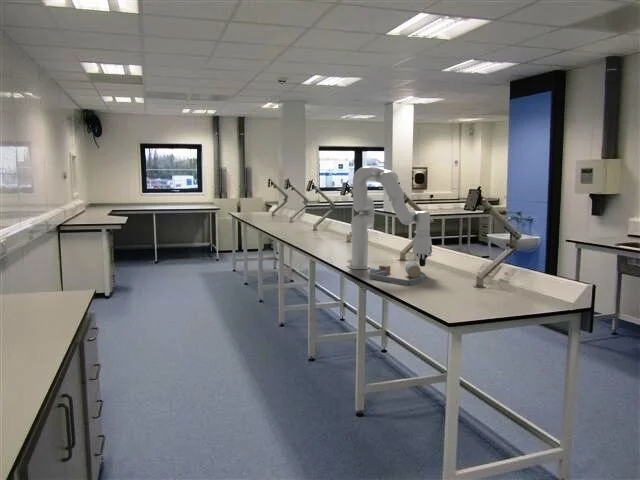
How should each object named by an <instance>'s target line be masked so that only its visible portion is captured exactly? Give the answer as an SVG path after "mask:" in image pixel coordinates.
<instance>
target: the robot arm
mask: <svg viewBox="0 0 640 480" xmlns="http://www.w3.org/2000/svg"><path fill="white" fill-rule="evenodd" d="M398 181H399V176H398V174H397V173H396V172H395V171H393V170H388V169H385V168H381V167H377V166H370V165H367V166H361V167H360V168H358V169H357V170H356V171H355V172H354V173H353V176H352V208H353V209H354V211H355V212H357V213H359V214H357V215H355V216H354V217H352V219H351V222H350V227H351V229H350V230H351V259H350V258H349V259H348V260H347V261H346V262H347V264H349V265H348V267H349V268H350V269H352V270H353V269H354V270H367V269H369V270H370V269H371V265H369V263H368V261H369V233H368V232H369V231H368V230H369V229H371V228H372V227H373V226H374V223H375V203H374V199H373V198H372V197H370V196H369V194H368V184H367V182H375V183H380V185H381V186H382V188H383V189H384V191H385V192H386V195H387V196H388V199H389V200H390V203H391V206H392V209H393V212H394V214H395V215H396V216H397V218H398V221H400V223H401V224H402V225H404V226H408V225H412V224H415V231H414V232H413V233H414V234H415V235H414V237H413V242H412V253H413V255H415V256H416V257H417V258H418V260H419V264H418V265H419V267H421V268H422V267H425V266H426V260H427V258H429V257H432V253H433V243H432V238H431V234H430V233H431V213H430V211H425V210H424V211H422V210H421V211H418V210H409V208H408V206H407V205H406V203H405V199H404V197H405V193H404V191H403V189H402V187H401V185H400V183H398Z"/></svg>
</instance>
